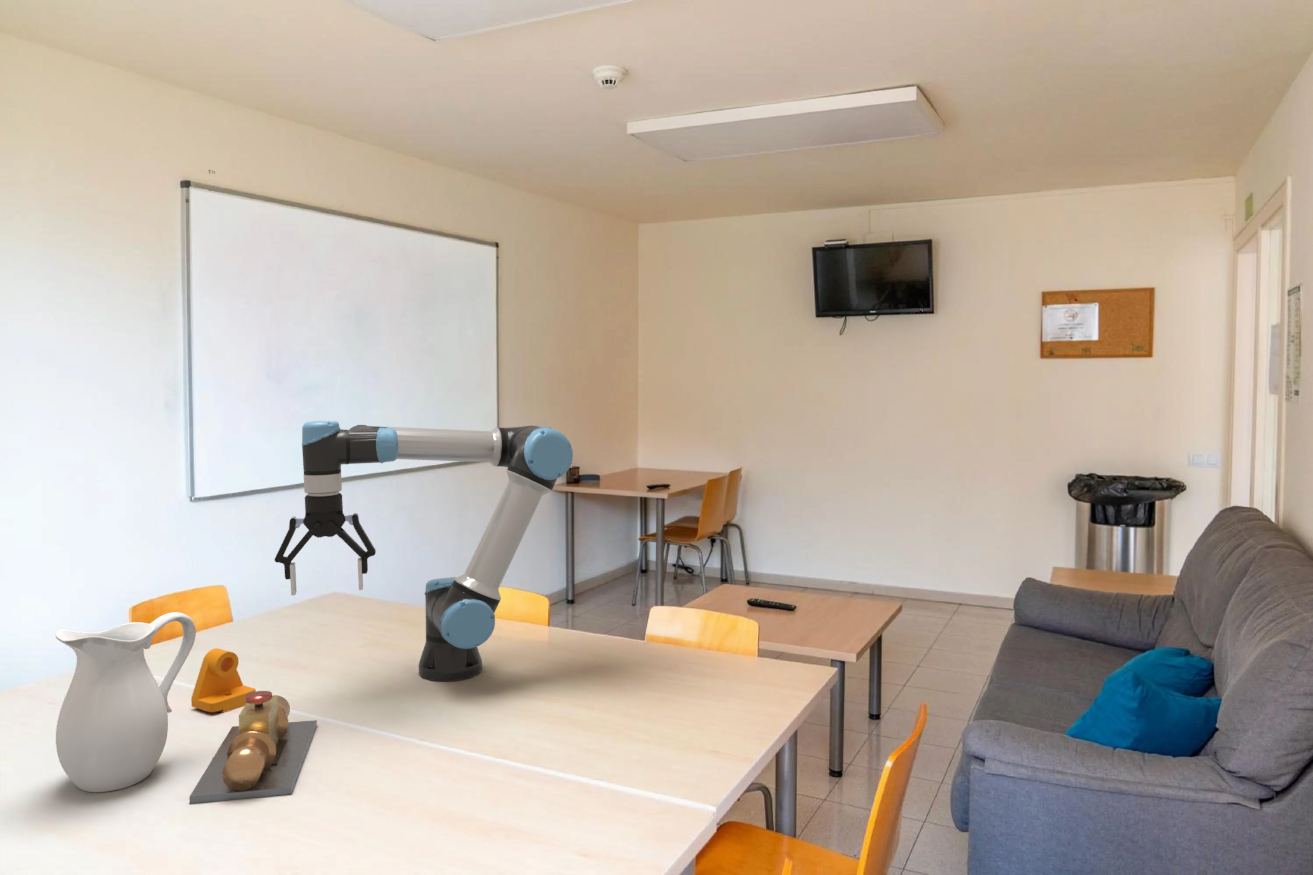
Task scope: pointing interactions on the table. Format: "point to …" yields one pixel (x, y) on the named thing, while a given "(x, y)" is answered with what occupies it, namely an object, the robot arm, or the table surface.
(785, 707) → the table surface
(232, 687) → the bracket
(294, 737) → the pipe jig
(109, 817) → the table surface
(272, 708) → the valve
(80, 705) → the pitcher
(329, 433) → the robot arm
